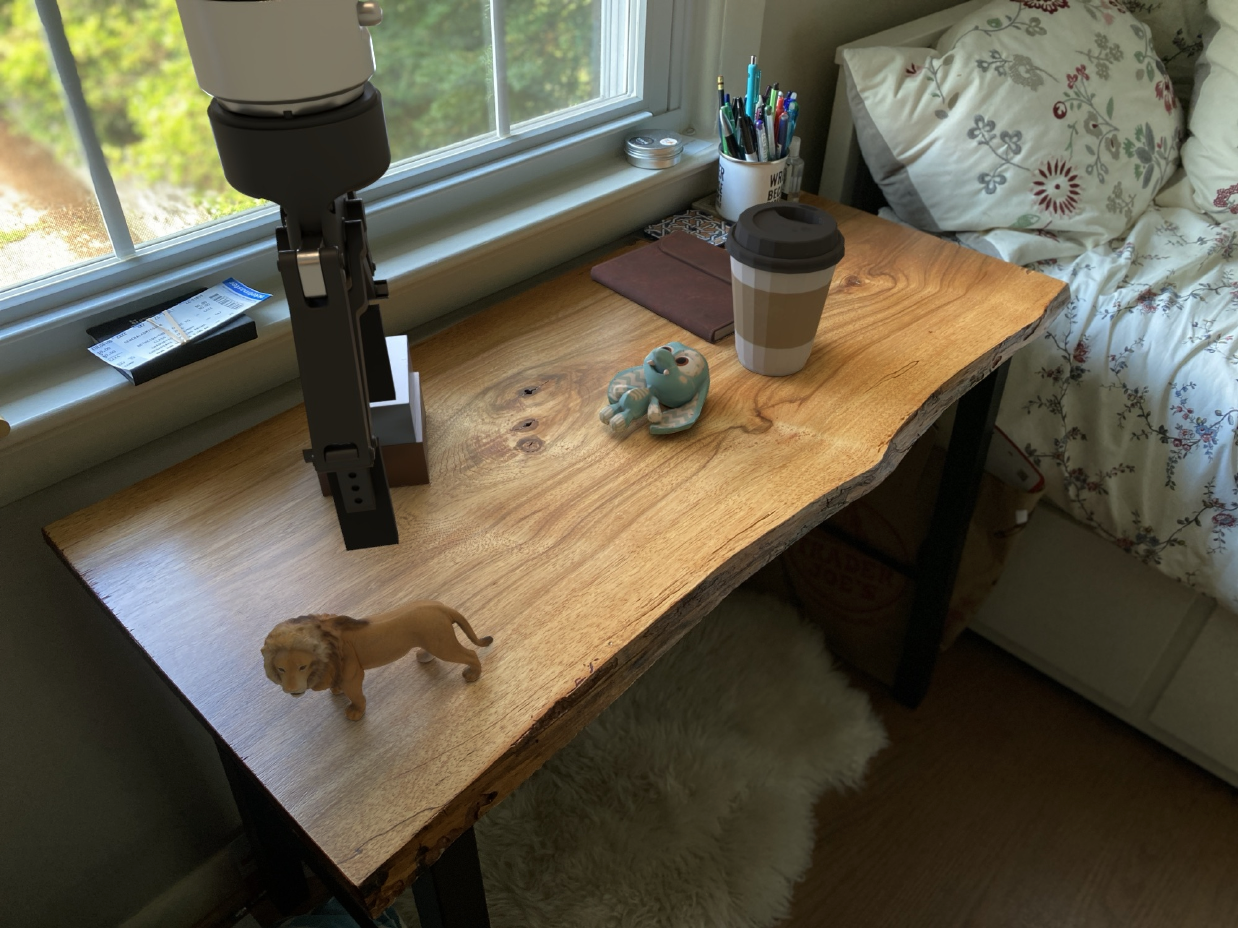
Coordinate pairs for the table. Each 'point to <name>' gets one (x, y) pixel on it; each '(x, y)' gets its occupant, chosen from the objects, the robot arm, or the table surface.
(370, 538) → the robot arm
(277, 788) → the table surface
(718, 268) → the notebook
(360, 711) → the lion figurine
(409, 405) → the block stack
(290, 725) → the table surface
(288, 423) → the table surface
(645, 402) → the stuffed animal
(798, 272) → the coffee cup
